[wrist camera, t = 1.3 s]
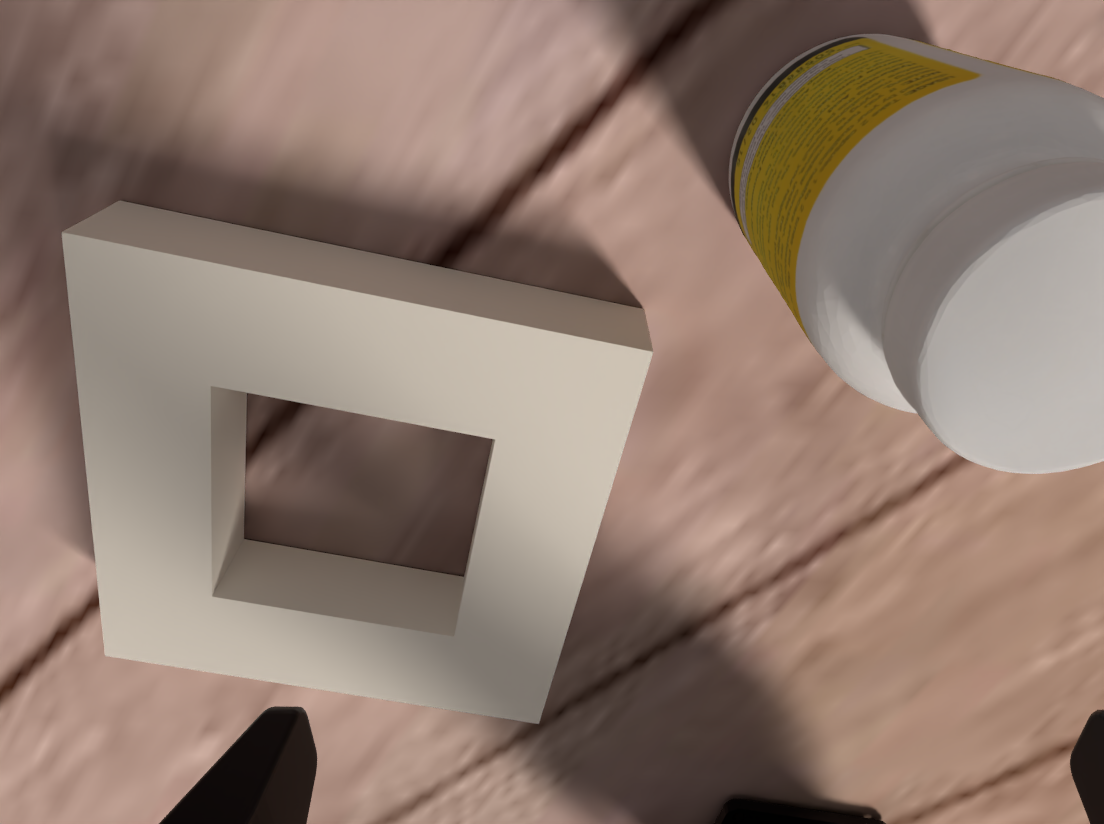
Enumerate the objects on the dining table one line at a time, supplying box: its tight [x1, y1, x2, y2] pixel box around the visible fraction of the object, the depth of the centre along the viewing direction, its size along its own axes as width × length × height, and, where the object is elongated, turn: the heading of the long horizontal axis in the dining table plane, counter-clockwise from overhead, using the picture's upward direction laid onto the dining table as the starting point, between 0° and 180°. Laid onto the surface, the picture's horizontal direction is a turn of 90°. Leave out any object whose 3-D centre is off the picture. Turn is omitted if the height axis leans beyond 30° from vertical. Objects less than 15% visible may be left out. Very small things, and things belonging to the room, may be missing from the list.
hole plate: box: [62, 200, 653, 724], centre depth 22 cm, size 13×13×2 cm
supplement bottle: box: [729, 34, 1104, 474], centre depth 14 cm, size 5×5×10 cm
